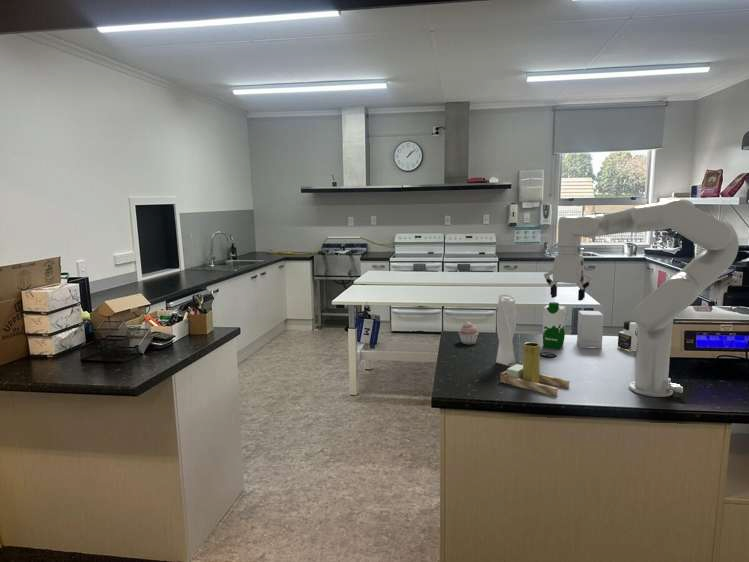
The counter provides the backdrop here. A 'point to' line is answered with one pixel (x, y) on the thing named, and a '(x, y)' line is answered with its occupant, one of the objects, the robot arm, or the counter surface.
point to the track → (536, 386)
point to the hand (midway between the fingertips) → (567, 298)
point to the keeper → (515, 371)
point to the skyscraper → (507, 332)
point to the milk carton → (553, 326)
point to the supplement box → (590, 329)
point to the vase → (531, 362)
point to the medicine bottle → (628, 336)
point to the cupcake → (468, 333)
